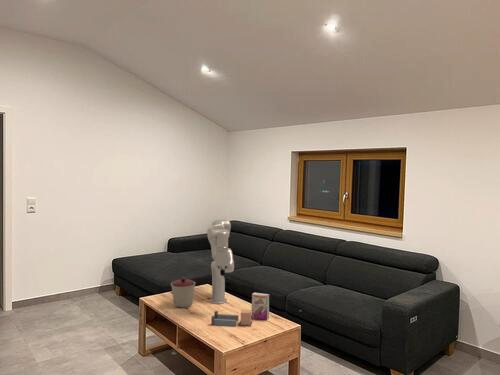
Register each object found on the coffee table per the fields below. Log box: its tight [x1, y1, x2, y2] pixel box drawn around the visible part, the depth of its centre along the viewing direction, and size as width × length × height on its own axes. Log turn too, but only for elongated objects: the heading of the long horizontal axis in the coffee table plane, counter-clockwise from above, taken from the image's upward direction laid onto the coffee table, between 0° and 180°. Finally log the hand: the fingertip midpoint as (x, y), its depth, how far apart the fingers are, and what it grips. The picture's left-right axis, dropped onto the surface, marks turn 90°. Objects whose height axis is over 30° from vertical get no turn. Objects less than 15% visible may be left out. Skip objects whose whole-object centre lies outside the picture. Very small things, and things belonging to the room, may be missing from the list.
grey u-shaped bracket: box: [210, 310, 240, 327], centre depth 255 cm, size 11×16×6 cm
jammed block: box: [240, 309, 252, 325], centre depth 253 cm, size 6×6×8 cm
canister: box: [170, 276, 196, 308], centre depth 287 cm, size 18×18×21 cm
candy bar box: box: [251, 292, 270, 321], centre depth 263 cm, size 11×5×16 cm, turn 71°
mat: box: [238, 320, 253, 328], centre depth 254 cm, size 9×8×1 cm
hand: (222, 275), depth 271 cm, fingers closed
